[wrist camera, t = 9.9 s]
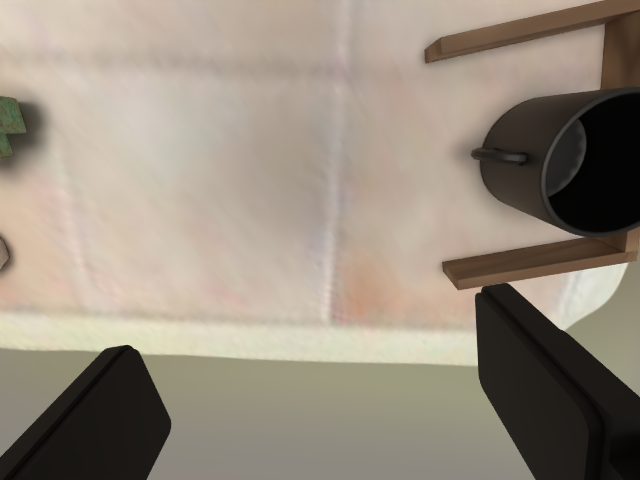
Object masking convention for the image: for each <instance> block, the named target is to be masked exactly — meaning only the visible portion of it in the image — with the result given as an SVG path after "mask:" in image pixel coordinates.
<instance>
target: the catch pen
mask: <svg viewBox="0 0 640 480" xmlns="http://www.w3.org/2000/svg"><path fill="white" fill-rule="evenodd" d="M605 23H606V29H605V42H604V55H603V69H602V82H601V90H605V89H613V88H621V87H630V86H640V0H604V1H599V2H595V3H590V4H586V5H582V6H577V7H573V8H568V9H564V10H560V11H555V12H551V13H546V14H542V15H538V16H533V17H529V18H524V19H520V20H516V21H511V22H507V23H502V24H498V25H494V26H489V27H485V28H480V29H476V30H472V31H467V32H463V33H458V34H454V35H450V36H445V37H441V38H440V39H438V40H437V41H436V42H434V43H433V44H432V45H430V46H429V47H427V48H426V49H425V60H426V63H429V62H434V61H438V60H443V59H447V58H452V57H456V56H461V55H465V54H470V53H474V52H479V51H483V50H488V49H492V48H497V47H501V46H506V45H510V44H515V43H519V42H524V41H528V40H533V39H537V38H542V37H546V36H551V35H555V34H560V33H564V32H569V31H573V30H578V29H582V28H587V27H591V26H596V25H600V24H605ZM639 238H640V227H638V228H636V229H633V230H631V231H628V232H626V233H622V234H619V235H615V236H609V237H596V238H591V237H586V238H580V239H574V240H569V241H563V242H557V243H551V244H545V245H539V246H534V247H528V248H522V249H516V250H510V251H505V252H499V253H493V254H487V255H481V256H476V257H470V258H464V259H458V260H452V261H447V262H442V264H443V272H444V273H445V274H446V275H447V277H448V278H449V279H450V281H451V282H452V283H453V284H454V286H455V287H456V288H457V289H458V290H463V289H469V288H475V287H481V286H487V285H493V284H499V283H505V282H512V281H518V280H524V279H530V278H536V277H542V276H548V275H554V274H560V273H566V272H572V271H578V270H584V269H590V268H597V267H603V266H609V265H615V264H621V263H627V262H632V261H637V254H638V245H639Z"/></svg>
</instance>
